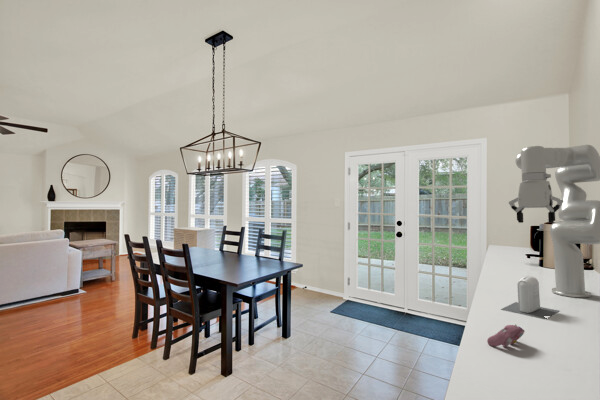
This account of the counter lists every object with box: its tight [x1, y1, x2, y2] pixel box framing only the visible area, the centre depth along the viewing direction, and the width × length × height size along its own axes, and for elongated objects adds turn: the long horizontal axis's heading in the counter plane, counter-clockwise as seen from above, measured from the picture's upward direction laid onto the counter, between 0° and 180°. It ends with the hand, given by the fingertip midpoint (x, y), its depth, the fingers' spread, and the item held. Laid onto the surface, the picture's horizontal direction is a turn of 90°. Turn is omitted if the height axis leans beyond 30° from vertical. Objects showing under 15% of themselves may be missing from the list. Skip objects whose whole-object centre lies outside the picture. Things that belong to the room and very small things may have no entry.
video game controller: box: [487, 324, 525, 348], centre depth 86 cm, size 10×5×7 cm, turn 118°
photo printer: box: [517, 275, 541, 313], centre depth 114 cm, size 10×4×12 cm, turn 123°
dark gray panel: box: [500, 301, 560, 320], centre depth 114 cm, size 14×14×1 cm
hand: (535, 222), depth 117 cm, fingers open, 9 cm apart
